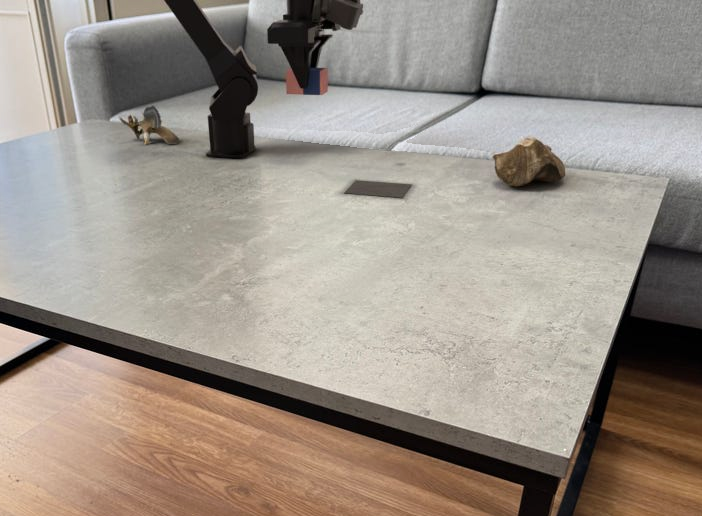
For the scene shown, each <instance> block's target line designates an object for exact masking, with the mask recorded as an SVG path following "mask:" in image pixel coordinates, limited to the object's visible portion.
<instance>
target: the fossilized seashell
mask: <svg viewBox="0 0 702 516" xmlns="http://www.w3.org/2000/svg"><path fill="white" fill-rule="evenodd" d="M492 158H493V160H494V171H495V174H496V177H498V179H500V181H502V182H503V183H505V184H506V185H508V186H511V187H522V186H525V185H528V184H530V183H531V182H533V181H538V182H549V183H554V182H559V181H561V180H562V179H564V178H565V176H566V166H565V164H564V162H563V161H562V160H561V159H560V158H559V156H558V155H557V154H555V152H553V151H552V147H551V146H549V145H548V144H544V142H542V141H540V140H539V139H538V138H536V137H533V136H527V137H524V138H522V139H521V140H519V141H518V143H516V144H515V145H514V147H513V148H511V149H510V150H508V151H505V152H502V153H495V154H493V155H492Z"/></svg>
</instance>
